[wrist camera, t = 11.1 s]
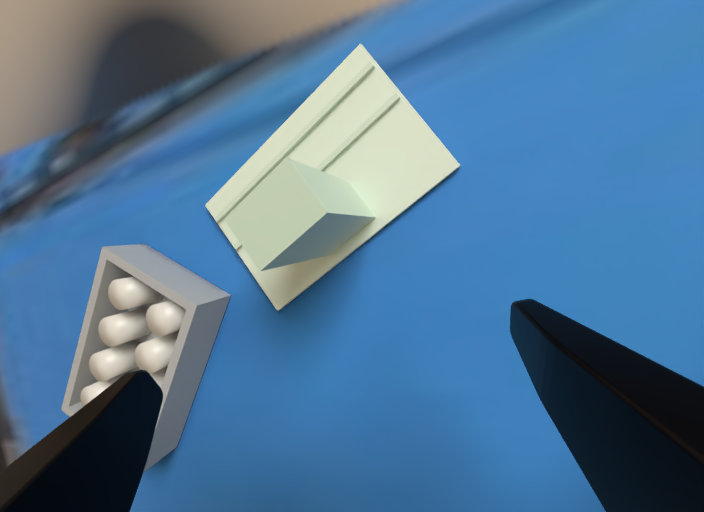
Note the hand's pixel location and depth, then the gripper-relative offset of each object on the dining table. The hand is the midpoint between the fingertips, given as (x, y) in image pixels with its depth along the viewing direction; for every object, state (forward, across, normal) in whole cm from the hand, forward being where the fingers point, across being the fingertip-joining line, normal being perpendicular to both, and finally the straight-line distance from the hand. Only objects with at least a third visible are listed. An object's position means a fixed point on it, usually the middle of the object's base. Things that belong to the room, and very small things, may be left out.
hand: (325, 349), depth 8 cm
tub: (+12, +15, +9) cm, 22 cm away
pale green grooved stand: (+13, +1, 0) cm, 13 cm away
